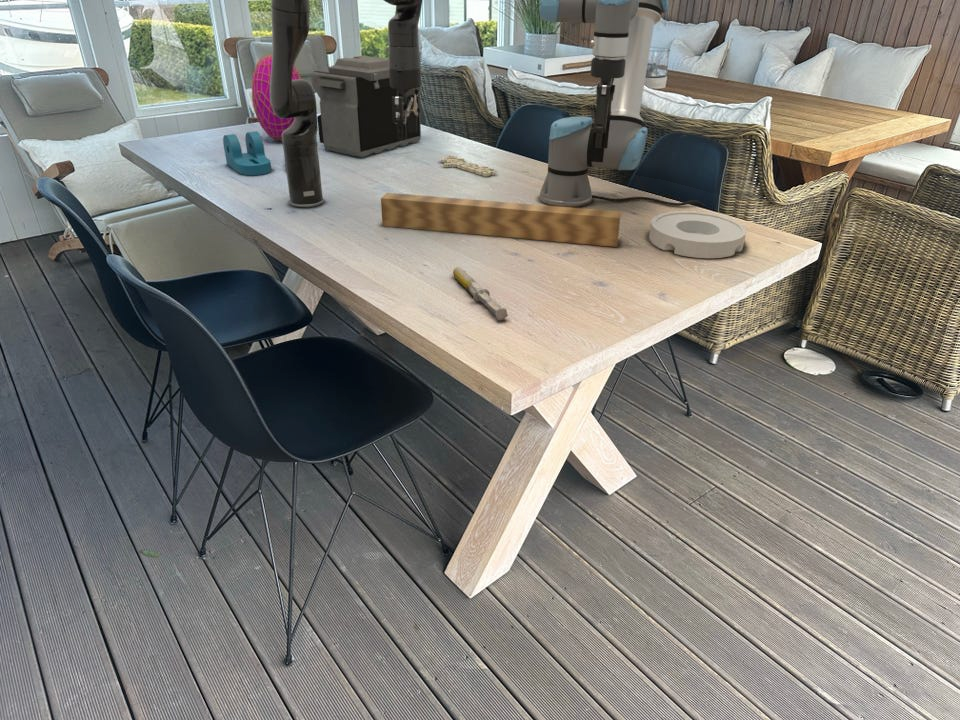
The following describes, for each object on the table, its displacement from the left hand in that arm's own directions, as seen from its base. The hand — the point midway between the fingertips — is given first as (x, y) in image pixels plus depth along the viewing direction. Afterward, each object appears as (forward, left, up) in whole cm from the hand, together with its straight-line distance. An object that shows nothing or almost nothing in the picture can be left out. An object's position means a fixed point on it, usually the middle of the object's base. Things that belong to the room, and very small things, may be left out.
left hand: (407, 136), depth 171 cm
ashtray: (+44, +59, -23) cm, 77 cm away
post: (+16, +18, -23) cm, 33 cm away
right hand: (+32, +35, -1) cm, 48 cm away
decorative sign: (-44, +40, -23) cm, 64 cm away
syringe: (+48, -6, -23) cm, 53 cm away
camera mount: (-75, -25, -23) cm, 83 cm away
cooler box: (-87, +22, -23) cm, 93 cm away
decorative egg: (-111, -4, -23) cm, 113 cm away
